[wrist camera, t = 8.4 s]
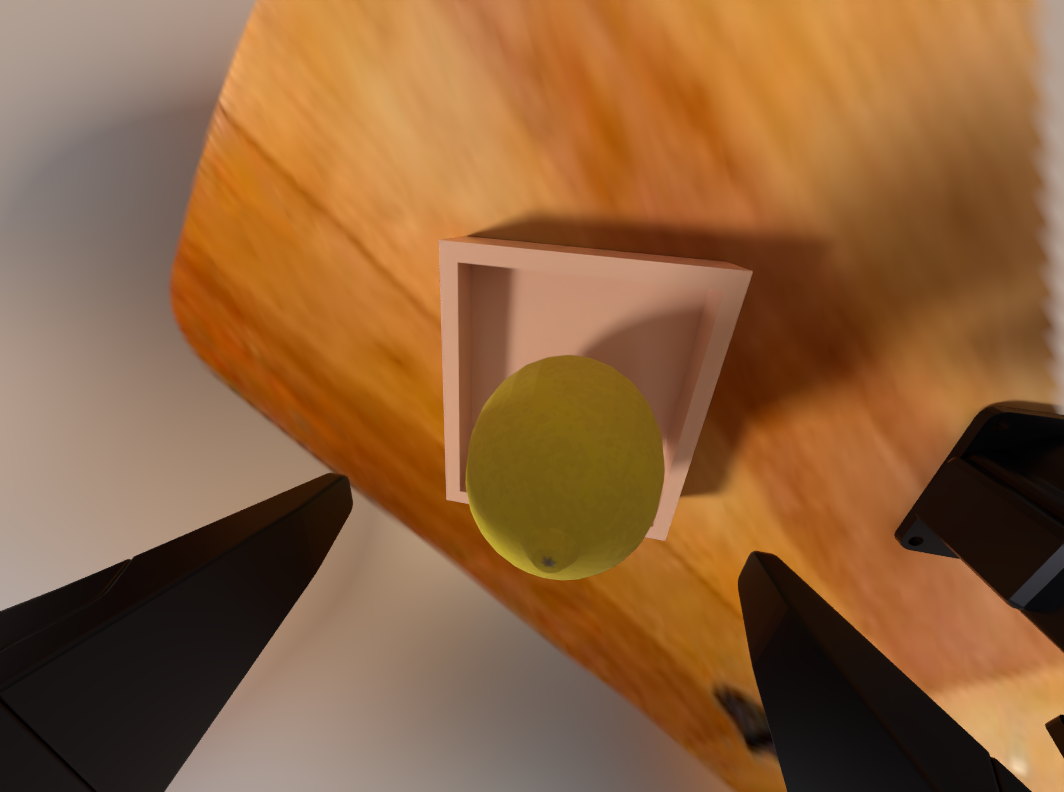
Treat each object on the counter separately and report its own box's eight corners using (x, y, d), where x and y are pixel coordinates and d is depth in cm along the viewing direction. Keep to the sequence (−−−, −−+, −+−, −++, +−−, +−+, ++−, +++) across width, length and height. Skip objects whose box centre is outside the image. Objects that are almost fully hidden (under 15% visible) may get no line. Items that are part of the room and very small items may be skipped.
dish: (727, 261, 13) (752, 271, 10) (657, 499, 17) (665, 540, 15) (465, 235, 14) (438, 240, 12) (465, 465, 18) (446, 499, 16)
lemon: (678, 403, 14) (756, 592, 7) (569, 477, 16) (544, 677, 9) (579, 293, 13) (551, 386, 6) (477, 389, 15) (368, 539, 8)
